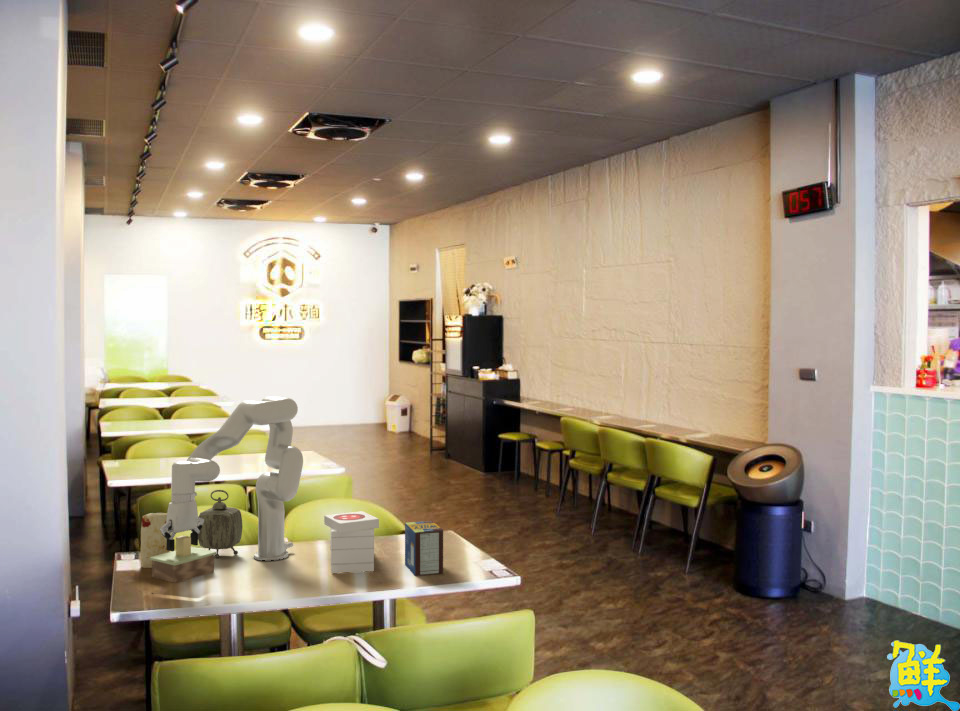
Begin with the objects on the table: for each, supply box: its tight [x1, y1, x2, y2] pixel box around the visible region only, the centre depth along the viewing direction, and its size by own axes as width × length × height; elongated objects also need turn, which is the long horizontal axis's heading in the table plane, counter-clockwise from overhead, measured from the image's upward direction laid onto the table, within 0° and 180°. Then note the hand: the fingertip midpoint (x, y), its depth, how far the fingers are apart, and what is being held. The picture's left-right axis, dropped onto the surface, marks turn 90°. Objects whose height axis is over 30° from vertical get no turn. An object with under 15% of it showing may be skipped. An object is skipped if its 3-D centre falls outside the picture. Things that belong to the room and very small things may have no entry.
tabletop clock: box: [198, 489, 243, 559], centre depth 308 cm, size 14×9×25 cm, turn 84°
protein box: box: [404, 520, 444, 577], centre depth 294 cm, size 10×15×16 cm
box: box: [151, 555, 215, 584], centre depth 282 cm, size 16×12×7 cm
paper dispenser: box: [323, 510, 380, 574], centre depth 301 cm, size 19×30×18 cm, turn 11°
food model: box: [140, 512, 171, 569], centre depth 292 cm, size 10×7×20 cm
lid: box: [150, 535, 217, 565], centre depth 282 cm, size 17×13×8 cm
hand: (182, 547), depth 281 cm, fingers open, 9 cm apart
